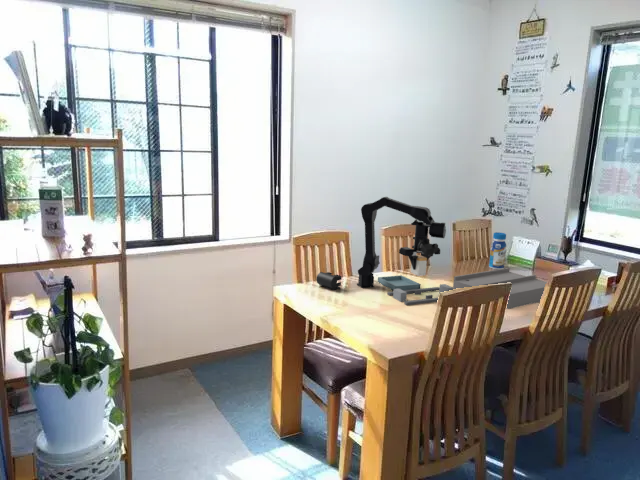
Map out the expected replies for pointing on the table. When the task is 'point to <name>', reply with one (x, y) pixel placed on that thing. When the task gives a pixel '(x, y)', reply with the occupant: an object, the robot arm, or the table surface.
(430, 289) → the fuse holder
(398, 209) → the robot arm
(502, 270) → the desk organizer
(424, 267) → the fuse
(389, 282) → the tray
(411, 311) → the table surface
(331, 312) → the table surface
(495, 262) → the beverage bottle
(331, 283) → the electric motor
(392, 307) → the table surface
